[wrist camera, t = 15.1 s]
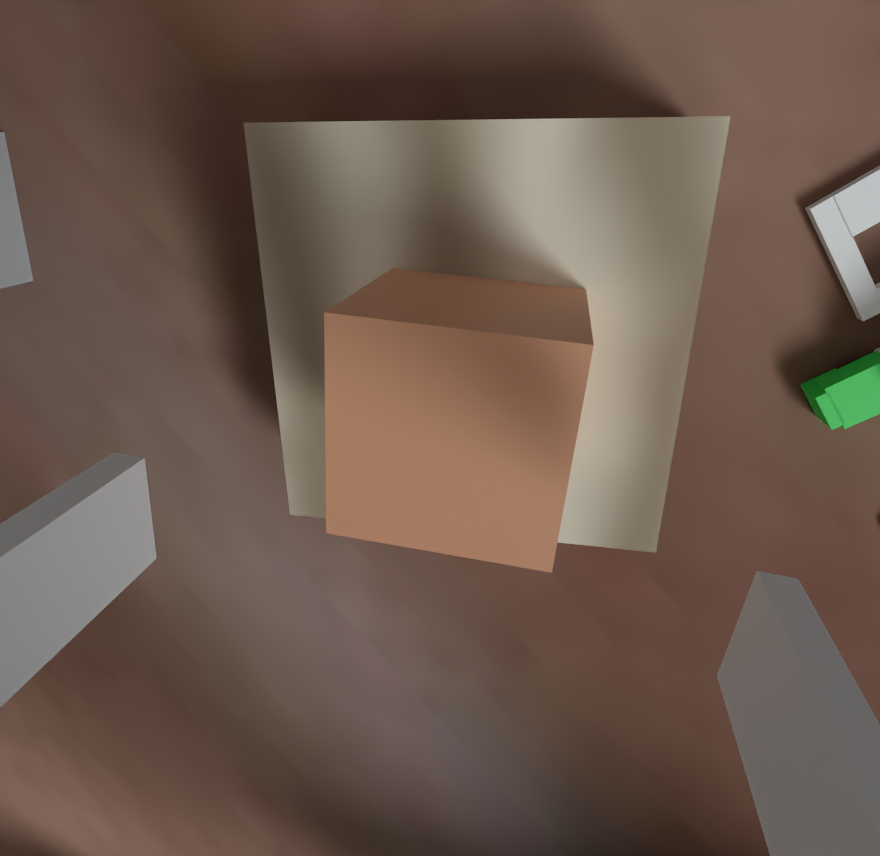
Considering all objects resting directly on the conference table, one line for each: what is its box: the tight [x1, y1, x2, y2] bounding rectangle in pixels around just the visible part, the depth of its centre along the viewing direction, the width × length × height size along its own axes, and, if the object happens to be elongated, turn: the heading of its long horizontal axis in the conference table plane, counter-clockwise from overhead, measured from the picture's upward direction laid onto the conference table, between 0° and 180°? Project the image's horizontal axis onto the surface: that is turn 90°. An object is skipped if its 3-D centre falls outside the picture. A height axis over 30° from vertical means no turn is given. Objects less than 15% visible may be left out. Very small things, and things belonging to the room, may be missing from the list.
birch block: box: [243, 116, 731, 552], centre depth 26 cm, size 16×16×6 cm
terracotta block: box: [324, 268, 594, 573], centre depth 20 cm, size 7×7×7 cm
